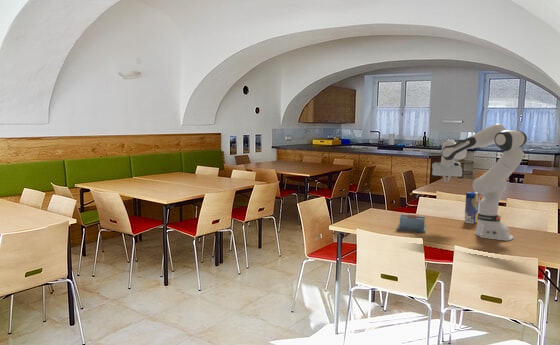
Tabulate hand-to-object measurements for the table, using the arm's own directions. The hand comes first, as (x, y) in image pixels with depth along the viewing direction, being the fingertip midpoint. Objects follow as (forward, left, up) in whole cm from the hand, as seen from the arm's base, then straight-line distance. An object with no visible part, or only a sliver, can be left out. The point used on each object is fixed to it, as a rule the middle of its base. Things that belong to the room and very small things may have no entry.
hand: (446, 182), depth 309 cm
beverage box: (-12, -23, -31) cm, 41 cm away
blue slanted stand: (+12, +29, -31) cm, 44 cm away
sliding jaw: (+13, +27, -29) cm, 42 cm away
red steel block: (+12, +30, -30) cm, 44 cm away
